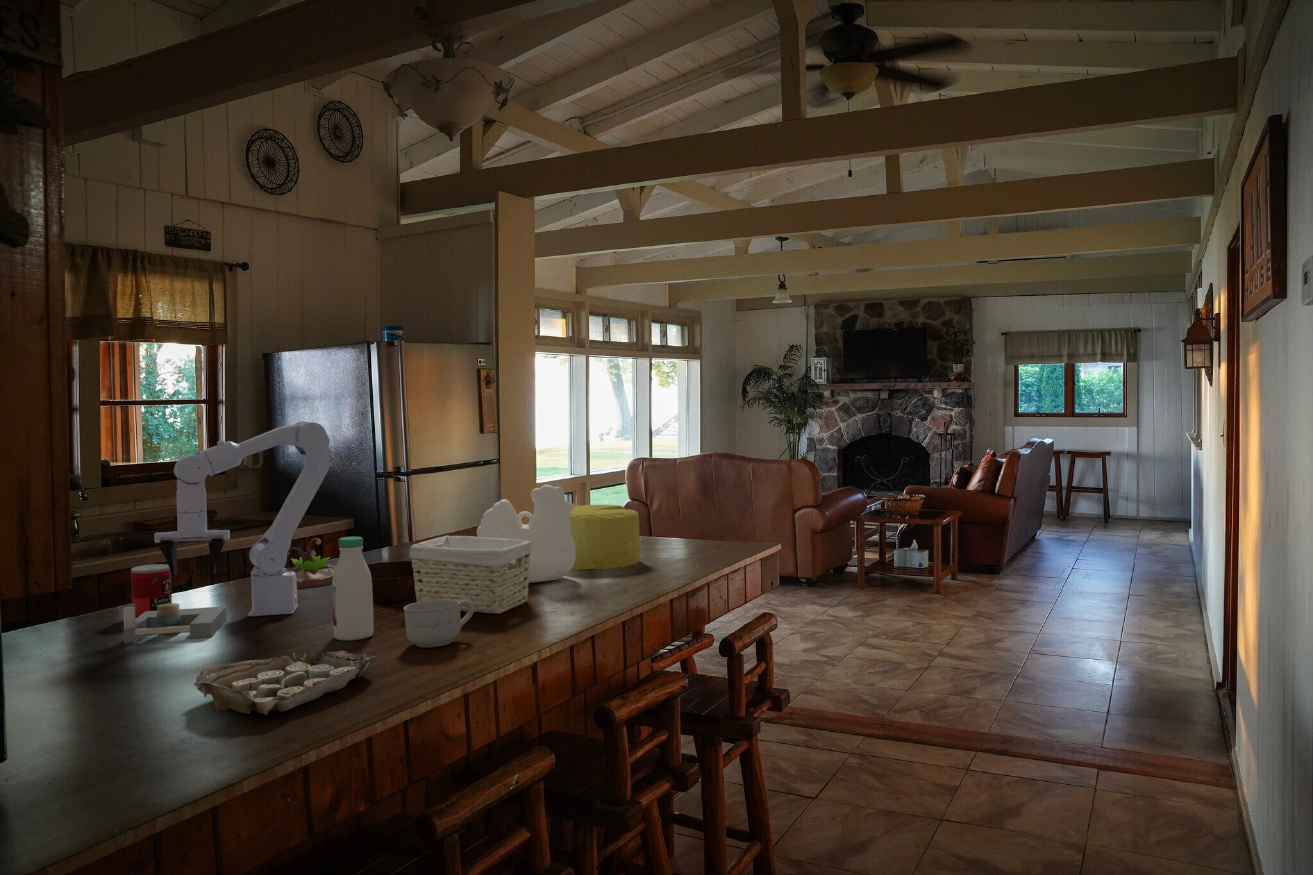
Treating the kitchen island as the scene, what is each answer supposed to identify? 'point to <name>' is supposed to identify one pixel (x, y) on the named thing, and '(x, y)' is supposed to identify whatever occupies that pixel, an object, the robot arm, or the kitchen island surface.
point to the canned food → (150, 587)
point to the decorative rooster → (537, 531)
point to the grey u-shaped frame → (192, 620)
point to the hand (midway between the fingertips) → (193, 574)
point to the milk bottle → (352, 593)
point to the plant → (311, 568)
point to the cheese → (605, 536)
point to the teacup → (435, 621)
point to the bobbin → (168, 617)
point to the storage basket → (473, 571)
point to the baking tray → (279, 680)
